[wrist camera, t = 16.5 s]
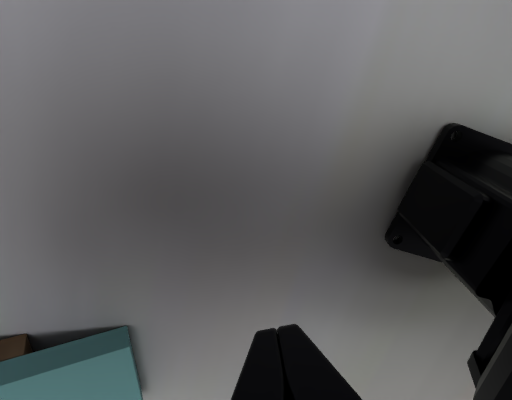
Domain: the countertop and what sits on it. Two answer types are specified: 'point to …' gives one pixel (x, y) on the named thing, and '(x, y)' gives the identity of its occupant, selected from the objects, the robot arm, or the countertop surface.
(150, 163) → the countertop surface
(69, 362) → the tile
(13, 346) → the brown wooden block
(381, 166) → the countertop surface
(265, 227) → the countertop surface
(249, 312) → the countertop surface
